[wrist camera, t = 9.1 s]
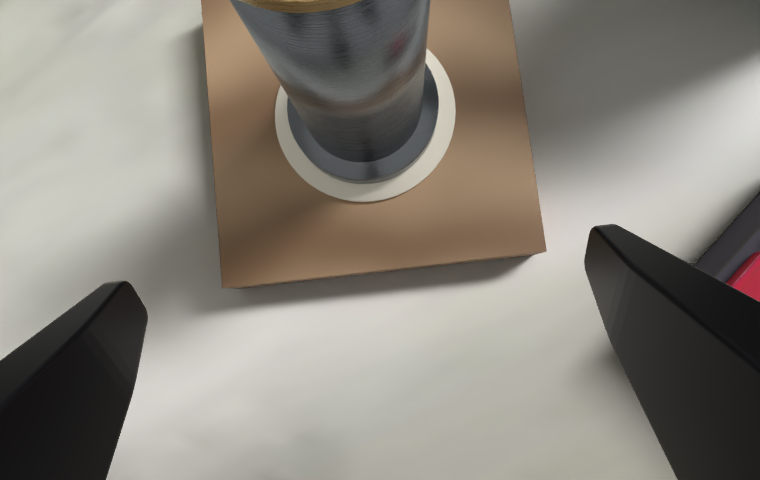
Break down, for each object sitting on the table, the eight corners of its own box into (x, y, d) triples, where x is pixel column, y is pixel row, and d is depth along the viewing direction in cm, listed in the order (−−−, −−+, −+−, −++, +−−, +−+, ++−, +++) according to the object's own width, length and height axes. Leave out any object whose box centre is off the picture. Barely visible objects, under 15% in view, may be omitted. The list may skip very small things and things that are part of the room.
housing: (396, 209, 21) (380, 68, 8) (267, 145, 21) (51, -81, 8) (462, 79, 21) (548, -257, 8) (333, 22, 22) (225, -375, 9)
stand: (534, 254, 22) (547, 250, 20) (238, 288, 23) (220, 288, 21) (492, -25, 24) (501, -57, 22) (217, 13, 24) (198, -14, 22)
